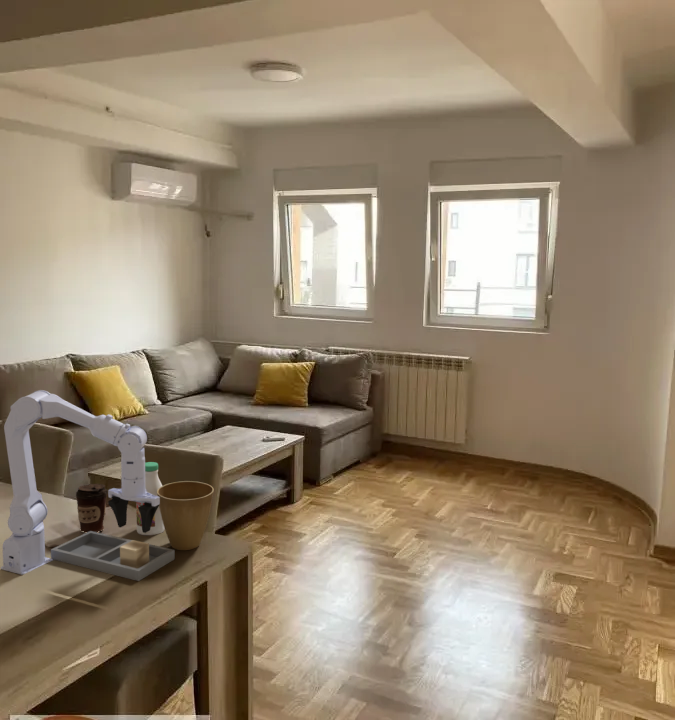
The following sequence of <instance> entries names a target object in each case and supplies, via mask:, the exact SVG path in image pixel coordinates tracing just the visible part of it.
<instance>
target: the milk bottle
mask: <svg viewBox="0 0 675 720" xmlns="http://www.w3.org/2000/svg"><path fill="white" fill-rule="evenodd" d="M158 472H159V463H158V462H156V461H155V462H154V461H148V462H145V489H146V490H147V492H148V493H150V494H153V495H155V496H157V490H158V489H159V488H160V487H162V486H163V484H162V482H161V480H160V478H159V474H158ZM135 503H136V505H135V506H136V507H135V508H136V509H135V510H136V514H135V515H136V532H137V534H139V535H142V536H155V535H158V534H161V533H164V531H165V528H164V524H163V521H162V517H161V512H160V508H159V507H158V509H157V510H156V512H155V515H154V517H153V520H152V524H151V528H150V531H148V532H146V533H143V531H142V520H141V515H140V512H139V509H138V507H140V506H142V505H144V503H140V502H135Z"/></svg>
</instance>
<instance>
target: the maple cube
mask: <svg viewBox="0 0 675 720" xmlns="http://www.w3.org/2000/svg"><path fill="white" fill-rule="evenodd" d="M132 540H133V541H131V542H129V543H127V544H125V545H123V546H121V547H120V564H121V565H125V566H129V567H133V568H137V569H138V568H140V567H142V566H143V565H145V564H147V563H148V562H149V544H150V543H147V542H144V541H139V540H135V539H132Z"/></svg>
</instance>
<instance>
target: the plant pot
mask: <svg viewBox="0 0 675 720" xmlns="http://www.w3.org/2000/svg"><path fill="white" fill-rule="evenodd" d="M214 490H215V489H214V487H213V486H212V485H210V484H208V483H205V482H203V481H202V482H200V481H192V480H191V481H190V480H184V481H175V482H171V483H166V484H164V485H162V487H160V488H159V489H158V490H157V496H158V497H160V504H159V508H160V512H161V517H162V521H163V524H164V528H165V529H164V531H165V533H166V536H167V539H168V542H169V543H170V546H171V549H173V550H177V551H187V550H188V551H189V550H193V549H196V548H198V547H199V546H200V545H201V542H202V540H203V537H204V535H205V531H206V528H207V524H208V522H209V517H210V513H211V509H212V503H213V498H214V492H215V491H214Z"/></svg>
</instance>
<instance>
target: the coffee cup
mask: <svg viewBox="0 0 675 720" xmlns="http://www.w3.org/2000/svg"><path fill="white" fill-rule="evenodd" d="M107 497H108V489H107V488H106V485H105V484H101V483H91V484H89V483H88V484H86V485H80V486H79V487H78V488H77V491H76V492H75V498H76V505H77V513H78V514H77V517H78V521H79V527H80V529H81V531H84V532H89V531H93V532H98V531H101V530H103V529H104V530H105V527H104V520H105V516H106V510H107V509H106V508H107V504H106V503H107V502H106V501H107ZM80 529H79V530H80ZM104 530H103V531H104ZM81 531H80V532H81Z"/></svg>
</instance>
